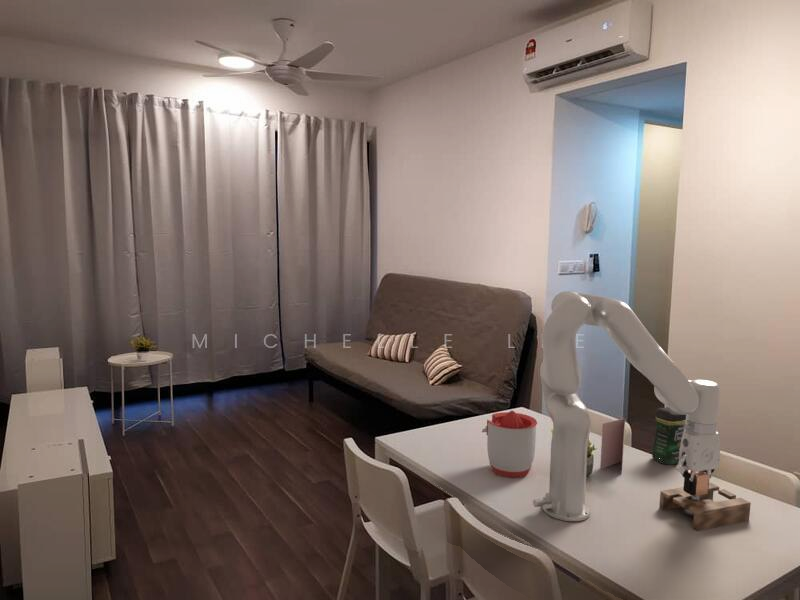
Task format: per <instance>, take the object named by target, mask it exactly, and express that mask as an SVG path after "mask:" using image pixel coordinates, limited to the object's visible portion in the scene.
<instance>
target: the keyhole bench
mask: <svg viewBox="0 0 800 600" xmlns="http://www.w3.org/2000/svg"><path fill="white" fill-rule="evenodd" d="M683 489H684V486H682V487H675V488H669V489H664V490H660V492H659V493H660V495H659V507H658V508H659V509H660V510H662V511H663V510H664V511H665V510H670V509H676V508H683V509H684V508H688V507H689V511H690V512H692V513H693V514H694V517H693V523H692V524H693V525H692V529H693V530H695V531H701V530H702V531H703V530H707V529H713V528H718V527H723V526H727V525H732V524H737V523H742V522H747V521H750V514H751V506H752V505H751V502H750V501H748V500H747V499H745V498H742V497H738V498H737V495H736V494H734V493H733V492H731V491H729V490H726V489H725V488H723V489H720V486H719V485H717V484H714V483H712V482H709V488H708V493H707V494H704V495H699V501H696V502H692V501H691V497H692V495H690V494H688V493H686V492H685V491H684V490H683ZM716 491H717V493H718V495H720V496H722V497H724V498H726V499H727V500H726V499H725V500H721V501H714V492H716Z"/></svg>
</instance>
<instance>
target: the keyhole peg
mask: <svg viewBox="0 0 800 600" xmlns="http://www.w3.org/2000/svg"><path fill="white" fill-rule="evenodd" d="M690 472H691V471H690V470H689V471H688V473H689V474H690ZM694 481H695V492H694V495H692V497H691V501H692V502H696V501H699V495H704V494H707V493H708V481H709V482H710V479H709V474H707V473H705V472H703V471H698V472H695V476H694ZM683 513H685V514H686V515H688V516H690V517H693V518H694V514H693V513H692V512H690V511H689V507H688V508H683Z"/></svg>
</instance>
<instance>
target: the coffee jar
mask: <svg viewBox="0 0 800 600" xmlns="http://www.w3.org/2000/svg"><path fill="white" fill-rule="evenodd" d="M685 422H686V415H683V414H678V413H676V412H674V411H673V410H671V409H670V408H669V407H668V406H666V407H659V408H657V409H656V413H655V433H654V440H653V441H654V442H653V446H652V447H653V448H652V455H651V457H652V459H654V460H655V461H656V462H658V463H659V462H660V464H665V465H675V464H678V463H679V451H680V444H681V439H682V435H683V432H684V430H685V428H684V425H685ZM659 458H660V459H659Z"/></svg>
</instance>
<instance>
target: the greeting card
mask: <svg viewBox="0 0 800 600" xmlns="http://www.w3.org/2000/svg"><path fill="white" fill-rule="evenodd" d="M625 429H626V417H625V418H619V419H616V420H613V421H609V422H604V423H602V429H601V430H602V431H601V446H600V447H601V449H600V464H599V468H600V469H603V468H606V467H610V466H612V465H616V464H618V463H619V464H620V463H621V466H623V464H624V448H625V447H624V444H625V432H626V431H625ZM622 473H623V472H621V475H622Z"/></svg>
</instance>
